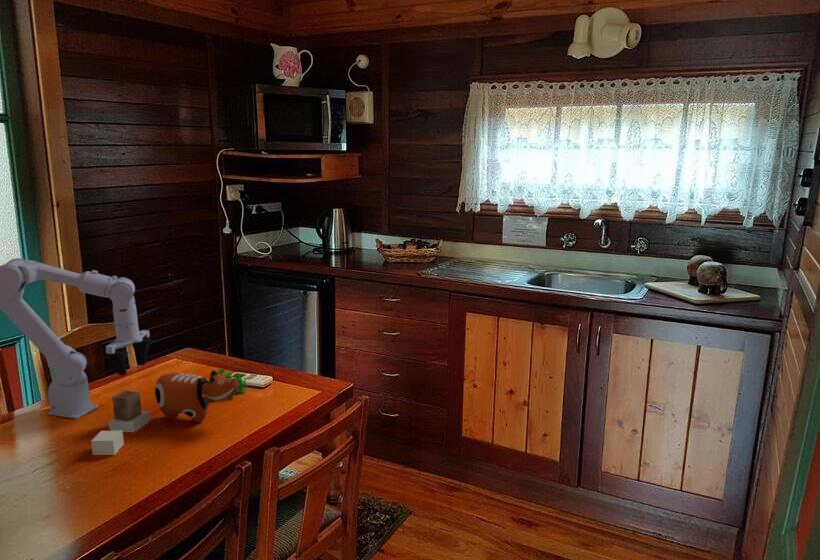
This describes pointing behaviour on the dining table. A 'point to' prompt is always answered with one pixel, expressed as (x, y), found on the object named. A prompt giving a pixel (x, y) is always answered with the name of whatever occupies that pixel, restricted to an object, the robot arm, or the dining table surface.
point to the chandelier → (237, 377)
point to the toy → (192, 393)
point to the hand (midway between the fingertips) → (132, 369)
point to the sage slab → (130, 423)
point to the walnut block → (127, 405)
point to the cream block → (107, 442)
